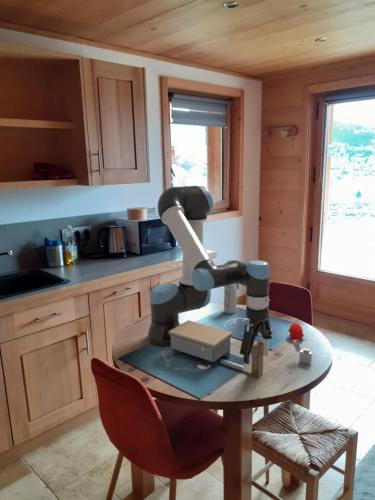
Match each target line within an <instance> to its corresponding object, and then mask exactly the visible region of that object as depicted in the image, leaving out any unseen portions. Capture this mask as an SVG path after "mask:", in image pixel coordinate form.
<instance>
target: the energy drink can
mask: <svg viewBox="0 0 375 500" xmlns="http://www.w3.org/2000/svg"><path fill="white" fill-rule="evenodd" d="M223 289H224V291H223V293H224V294H223V296H224V298H223V299H224V300H223V306H224V307H223V309H224V312H225V314H229V315H234V314H235V313H236V312H237V285H236V284H233V285H228V286H223Z"/></svg>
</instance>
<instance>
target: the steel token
mask: <svg viewBox="0 0 375 500" xmlns="http://www.w3.org/2000/svg"><path fill="white" fill-rule="evenodd" d="M196 367H197V368H198V369H199V370H202V369H203V370H204V369H205V370H208V368H209V369H210V368H211V363H210V361H208V360H201V361H199V362H197V363H196Z"/></svg>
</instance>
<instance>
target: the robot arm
mask: <svg viewBox="0 0 375 500" xmlns="http://www.w3.org/2000/svg"><path fill="white" fill-rule="evenodd" d="M213 207H214V199H213V196H212V193H211V192H210V190H209V189H208V188H207V187H205V186H203V185H185V186H171V187H168V188H167V189H165V190H164V191H163V192H162V193H161V194H160V196H159V197H158V201H157V214H158V216H159V219H160V220H161V222H162V223H163V224H164V225H167V227H168V229H169V231H170V233H171V234H172V236H173V238H174V241H176V243H177V245H178V247H179V248H180V250H181V252H182V275H181V277H180V278H179V279H178V285H177V284H176V283H171V282H168V283H161V284H158V285H156V286H154V287H153V288H152V290H151V291H150V298H149V301H150V319H151V322H150V327H149V329H148V332H147V341H148V342H149V343H150V344H152V345H155V346H159V347H169V346H170V347H171V334H169V331H170V330H172V329H174V328H175V327H177V326H179V325H181V324H180V321H179V315H180V314H183V313H186V312H191V311H196V310H200V309H202V308H205V307H206V306H207V305H209V303H210V301H211V296H212V291H211V290H212V289H217V288H221V287H225V286H228V285H233V284H235V285H236V284H237V285H242V286H244V287H246V294H245V295H246V296H245V297H246V299H245V304H246V306H245V315H246V317H247V318H248V320H249V323H248V324H245V325H244V331H243V332H244V333H243V336H242V341H241V345H240V350H239V355H243V356H242V357H243V358H242V359H243V362H242V366H243V371H242V372H244V371H246V372H245V373H247V372H249V373H251V365H252V354H250V353H251V350H252V347H253V344H254V341H256V338H257V337H258V336H259V333H260V335H261V338H260V342H261V343H264V351H263V357H267V358H268V357H269V350H270V347H269V346H270V340H272V338H273V337H272V335H273V333H272V328H271V323H270V320H269V302H271V301H270V298H269V297H270V295H269V293H270V292H269V291H270V277H271V276H270V275H271V273H270V265H269V263H268V262H267V261H264V260H259V259H257V260H256V259H255V260H254V259H253V260H249V261H248V262H247V263H245V262H242V261H240V260H235V259H230V260H227V261H226V262H225V263H224V264H218V265H216V264H215V262H213V260H212V258H211V257H210V255H209V253H208V252H207V250H206V248H205V247H204V246H203V245H204V223H205V221H206V220H207V218H208V214H210V213H211V212H212V210H213Z"/></svg>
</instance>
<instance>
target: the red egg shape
mask: <svg viewBox="0 0 375 500" xmlns="http://www.w3.org/2000/svg"><path fill="white" fill-rule="evenodd" d="M287 331H288V332H289V336H290V337H291V338H290V339H291V340H292V341H293V340H297V341H298V342H299V340H300V339H302V338H303V337H305V335H304V331H303V327H302V326H301V325H300V324H299V323H295V322H294V323H292V324H290V326H289V328H288V330H287Z"/></svg>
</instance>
